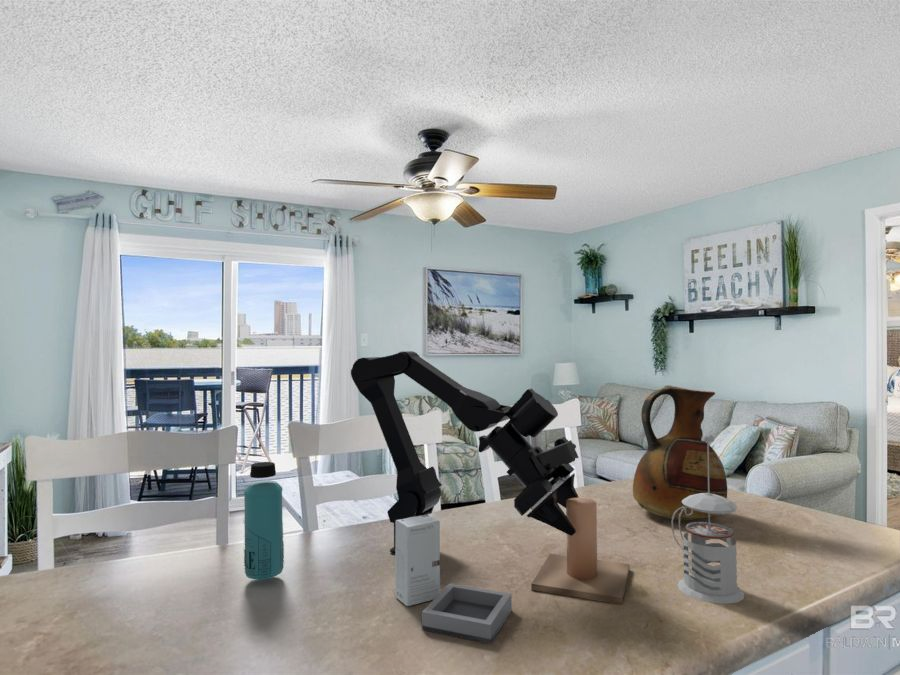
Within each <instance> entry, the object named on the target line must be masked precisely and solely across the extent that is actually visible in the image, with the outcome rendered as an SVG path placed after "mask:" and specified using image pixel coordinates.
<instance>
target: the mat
mask: <svg viewBox="0 0 900 675" xmlns="http://www.w3.org/2000/svg"><path fill="white" fill-rule="evenodd" d="M629 574H630V563H624V562H616V561H607V560H603V559H602V560H600V559H597V577H595V578H593V579H586V580H585V579H577V578H573V577H571V576H569V575H568V574H567V555H565V554H555V553H549V555H548V556H547V558H546V559H545V561H544V562H543V564H542V566H541V568H540V569H539V571H538V572H537V574H536V576H535V577H534V579H533V581H532V582H531V591H537V592H543V593H549V594H553V595H554V594H555V595H562V596H568V597H574V598H580V599H587V600H593V601H599V602H603V603H604V602H606V603H610V604H611V603H612V604H618V605H622V604H623V601H624V596H625V592H626V587H627V583H628V578H629Z"/></svg>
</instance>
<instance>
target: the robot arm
mask: <svg viewBox="0 0 900 675" xmlns="http://www.w3.org/2000/svg"><path fill="white" fill-rule="evenodd" d="M403 374H404V375H406V376H407V377H409V379H411V380H413V381H414V382H415V383H416V384H417V385H419V386H421V387H423V388H424V389H425V390H426V391H428V392H429V393H431V394H432V395H433V396H434V397H437V398H438V399H439V400H441V401H442V402H443V403H445V404H446V405H447V406H448V407H449V408H450V409H451V411H452V413H453V414H454V415H455V417H456V419H457V420H459V421H460V423H461V424H462V425H464V427H465V428H467V430H470V431H471V432H475V433H477V432H482V431H486V430H488V429H492V428H493V429H492V430H491V431H490V432H489V433H488V434H487V435H480V436H479V437H478V443H479V444H478V450H477V452H479V453H483V452H485V451H487V450H489V449H491V450H492V451H493V452H494V453H495V455H496V456H497V457H498V458H499V459H500V460H501V461H502V463H503V464H504V465H505V466H506V467H507V469H508V470H506V474H507V475H508V476H509V477H512V476H513V475H514V476H515V478H516V479H517V480H518V481H519V483H521V484H522V486H523V487H524V488H523V489H522V491H521V492H520V493H519V494H518V495H517V496H515V498H514V499H513V501H514V502H513V508H515V510H516V511H517V512H518V513H519V514H520V516H521V517H522V516H524V515H525V514H526V513H527V512H528V511H530V510H531V511H530V512H529V513H528V514H527V515H526V517H527V518H532V519H534V520H536V521H539V522H541V523H544V524H546V525H548V526H550V527H552V528H553V529H556V530H557V531H560V532H562V533H564V534H568V535H571V536H572V535H573V534H574V533H575V532H576V530H575V528H574V527H573V525H572V524H571V522H570V521H569V519H568V518H567V516H566V512H564V511H563V509H562V508H561V506H562V507H563V508H565V509H566V500H567V499H570V498H580V497H579V494H578V493H577V491H576V488H575V484H574V483H575V477H576V475H575V474H576V473H575V472H574V471H575V468H574V467H573V466H572V465H571V463H574V462H575V461H576V459H579V455H578V453H577V450H576V449H577V446H576V444H575V443H573V441H572V439H570V440H568V439H567V438H566V437H565V436H562V437H560V438H557V439H555V440H554V442H553V444H554V445H553V446H554V447H550V448H549V449H546V450H543V449H542V448H541V447H540V446H537V445H536V446H535V447H533V446H532V445H531V443H530V442H529V441H528V440H527V439H526V438H527V437H531V438H536V437H537V436H538V435H540V433H541V432H542V431H544V430H545V428H547V427H548V426H549V424H551V423H553V421H554V420H555V419H556V418H557V417H558V415H559V413H558V410H557V408H556V407H555V406H554V405H553V404H552V403H551V401H549V400H548V399H546V398H545V397H544V396H543V395H541V394H539V393H537V392H536V391H535V390H534V389H533V388H529V389H526V390H525V391H524V392H523V393H522V394H521V397H520V398H519V399H518V400H517V401H516V402H515V403H514V404H513V405H512V406H510V405H509V406H508V405H504V404H500V402H498V400H496V399H495V398H493V397H491V396H489V395H486V394H484V393H482V392H479V391H476V390H473V389H471V388H467V387H465V386H463V385H462V384H460V383H459V382H458V381H456V380H454V379H453V378H451V377H450V376H448V375H447V374H446V373H444V372H442V371H441V370H439V368H437V367H435V366H434V365H432V364H431V363H429V362H428V361H426V360H425V359H423V358H422V357H420V355H419V354H418V353H417V352H415V351H413V350H412V351H406V350H404V351H399V352H397V353H394V354H391V355H385V356H374V357H360V358H357V360H355V361H354V362H353V364H352V367H351V369H350V376H351V379H352V381H353V383H354V385H355V386H356V388H357V390H358V392H359V394H361V395H362V396H363V397H364V398H365V399H366V400H367V401H368V402H369V403H370V405H371V407H372V410H373V412H374V415H375V416H376V420H377V423H378V425H379V428H380V431H381V433H382V436H383V437H384V438H383V439H384V440H385V443H386V446H387V448H388V451H389V454H390V456H391V458H392V461H393V464H394V467H395V469H396V485H395V486H396V487H395V489H396V494H397V498H398V499H397V501H396V502H395V503H394V504H393V505H392V506H391V507H390V508H389V509H388V510H387V515H388V516H387V517H388V519H389V522H390V523H392V524H393V547H391V548H390V549H389V553H390V554H391V553H392V554H395V531H396V530H395V529H396V528H395V521H396V520H400V519H405V518H409V517H416V516H423V515H428V516H429V515H430V514H432V513H433V512H434V507H435V506H437V504H438V503H439V502H440V499H441V496H442V491H441V487H442V486H443V484H442V483H441V482H440V481H439V479H438V476H437V472H436V471H437V470H436V469H435V467H434V466H430V467H426V466H425V465H424V464H423V463H422V462H421V460H420V458H419V455H418V453H417V451H416V447H415V445H414V443H413V440H412V438H411V434H410V432H409V430H408V428H407V425H406V423H405V420H404V418H403V417H404V416H403V415H402V411H401V410H400V407H399V404H398V402H397V399H396V397H395V388H396V387H395V386H396V379H395V376H400V375H403ZM507 420H508V421H507ZM504 421H507V422H506V423H505V424H504V425H503V426H500V425H498V424H499V423H501V422H504ZM497 425H498V426H497ZM572 472H574V473H572ZM571 473H572V474H571ZM570 474H571V475H570ZM569 475H570V476H569Z"/></svg>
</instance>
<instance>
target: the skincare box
mask: <svg viewBox="0 0 900 675" xmlns="http://www.w3.org/2000/svg"><path fill="white" fill-rule="evenodd" d="M440 524H441V523H440V520H439V519H437V518H435V517H433V516H431V515H429V514H428V515H423V516H416V517H409V518H405V519H400V520H396V521H395V528H396V529H395V530H396V531H395V553H394V554H395V555H394V556H395V557H394V559H395V560H394V562H395V563H394V564H395V567H394V568H395V569H394V570H395V574H394V576H395V581H394V582H395V589H394V590H395V597H396V598H397V600H398V601H400V602H401V603H402V604H403V605H405V606H406V607H410V606H414V605H418V604H423V603H425V602H430V601H433V600H434V599H435V598H436V597H437V596H438V595H439V594H440V593H441V560H440V559H441V558H440V557H441V556H440V555H441V552H440V550H441V549H440V548H441V540H440V537H441V535H440V534H441V532H440V531H441V530H440V528H441V527H440V526H441V525H440Z"/></svg>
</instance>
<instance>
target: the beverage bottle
mask: <svg viewBox="0 0 900 675" xmlns="http://www.w3.org/2000/svg"><path fill="white" fill-rule="evenodd" d="M276 474H277V472H276V463H274V462H272V461H261V462H254V463H252V464H251V466H250V472H249V477H250V478H252V479H266V478H272V477H274V476H276ZM243 495H244V497H243V498H244V517H243V519H244V520H243V521H242V522H243V524H244V541H243V542H244V543H243V544H244V548H243V553H244V558H243V560H244V561H243V567H244V568H243V570H244V573H245V576H246V578H248V579H252V580H266V579H267V580H268V579H271V578H274V577H277V576H278V575H280V574H281V573H283V570H284V563H285V556H284V555H285V545H284V543H285V542H284V523H283V487H282V486H281V484H280V483H278V482H277V481H275V480H270V479H269V480H258V481H254V482H252V483H250V484H249V485H247V486H246V488H245V489H244V491H243Z"/></svg>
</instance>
